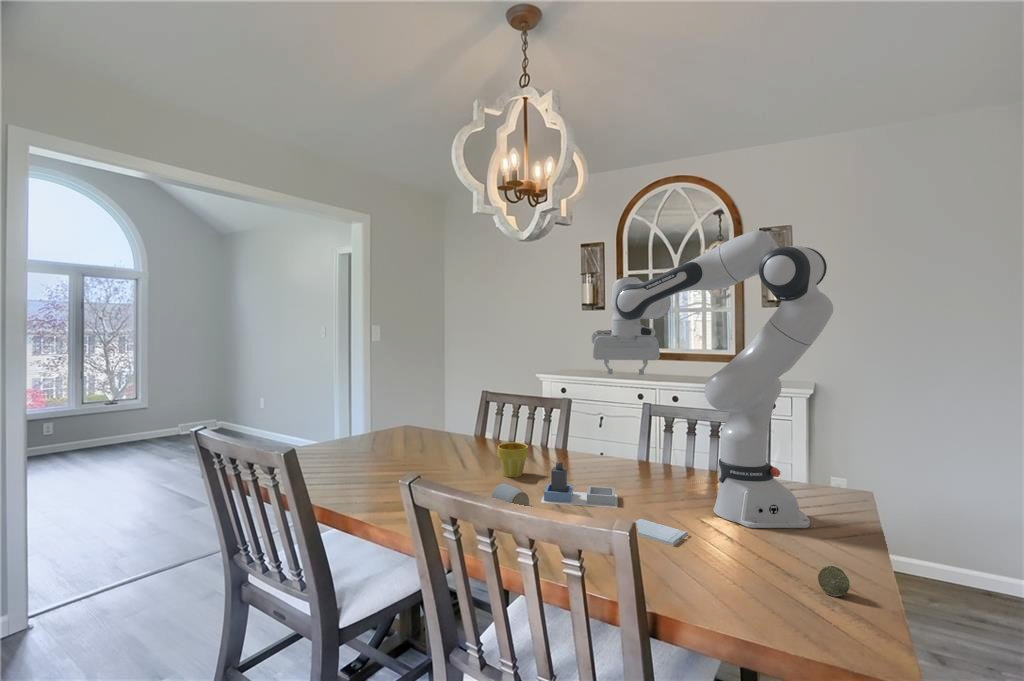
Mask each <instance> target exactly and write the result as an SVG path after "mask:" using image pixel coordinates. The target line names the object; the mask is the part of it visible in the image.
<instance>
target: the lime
mask: <svg viewBox="0 0 1024 681" xmlns="http://www.w3.org/2000/svg"><path fill="white" fill-rule="evenodd" d="M817 574H818V575H817V582H818V584H819V586H820V588H821V590H822V591H823V592H824V593H825V594H827V595H828V596H831V597H842V596H846V595H847V594H848V592H849V590H850V588H851V586H850V585H851V584H850V579H849V578H848V575H847V574H846V573H845V571H843V569H841V568H839V567H836V566H834V565H827V566H825V567H822V568H821V569H820V571H819V573H817Z"/></svg>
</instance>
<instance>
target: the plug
mask: <svg viewBox="0 0 1024 681" xmlns="http://www.w3.org/2000/svg"><path fill="white" fill-rule="evenodd" d="M563 466H564V464H563V461H555V466H554V467H552V469H551V474H550V476H551V478H550V479H551V480H550V481H551V482H550V484H551V491H553V492H567V485H568V484H567V482H568V480H567V479H568V477H567V476H568V474H567V472H568V471H567V470H568V468H567V467H563Z"/></svg>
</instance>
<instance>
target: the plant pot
mask: <svg viewBox="0 0 1024 681" xmlns="http://www.w3.org/2000/svg"><path fill="white" fill-rule="evenodd" d="M497 457H498V458H499V460H500V461H499V462H500V465H501V470H502V476H504V477H507V478H519V477H521V476H522V475H523V474H524V468H525V463H526V460H527V457H529V446H528V445H527V444H525V443H522V442H504V443H501V444H499V445H497Z"/></svg>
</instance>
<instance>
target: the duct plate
mask: <svg viewBox="0 0 1024 681" xmlns="http://www.w3.org/2000/svg"><path fill="white" fill-rule="evenodd" d="M615 490H616V487H612V486H611V487H609V486H607V487H606V486H591V485H588V487H587V492H583V491H574V484H567V492H553V491H551V483H547V484H546V486H545V487H544V491H543V496H542V498H541V500H540V504H553V505H554V504H555V505H556V504H557V505H570V506H582V507H585V506H586V507H597V508H599V507H600V508H611V509H612V508H613V509H614V508H615V509H618V494H616V491H615Z"/></svg>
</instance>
